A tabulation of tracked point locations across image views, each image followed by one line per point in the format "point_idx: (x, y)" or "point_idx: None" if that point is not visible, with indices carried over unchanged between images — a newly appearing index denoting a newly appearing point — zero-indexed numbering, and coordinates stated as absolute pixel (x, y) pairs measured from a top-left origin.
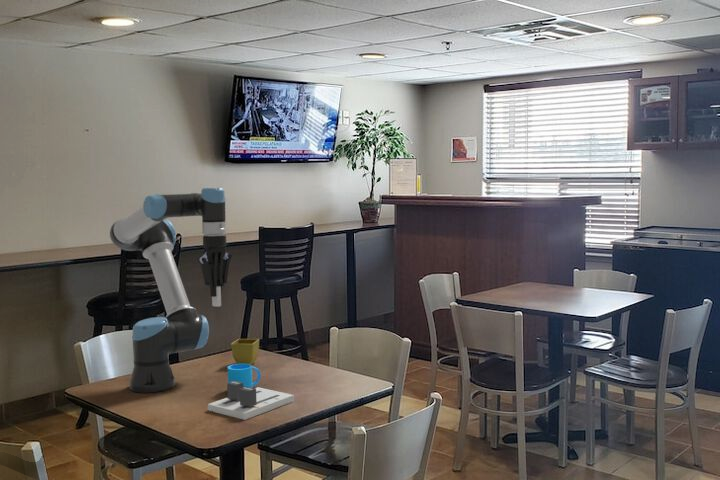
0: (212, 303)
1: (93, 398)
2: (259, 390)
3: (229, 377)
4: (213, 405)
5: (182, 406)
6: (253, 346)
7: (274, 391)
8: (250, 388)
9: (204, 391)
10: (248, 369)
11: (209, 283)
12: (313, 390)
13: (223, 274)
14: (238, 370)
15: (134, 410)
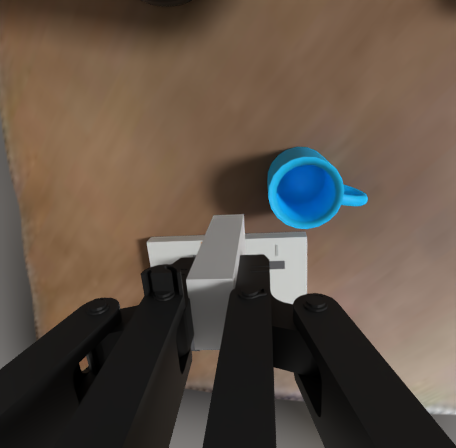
0: (210, 223)
1: None
2: (288, 258)
3: (268, 181)
4: (149, 258)
5: (128, 169)
6: None
7: (302, 289)
8: (193, 341)
9: (234, 109)
10: (305, 227)
11: (87, 376)
12: (392, 313)
13: (329, 425)
14: (277, 217)
15: (34, 103)
